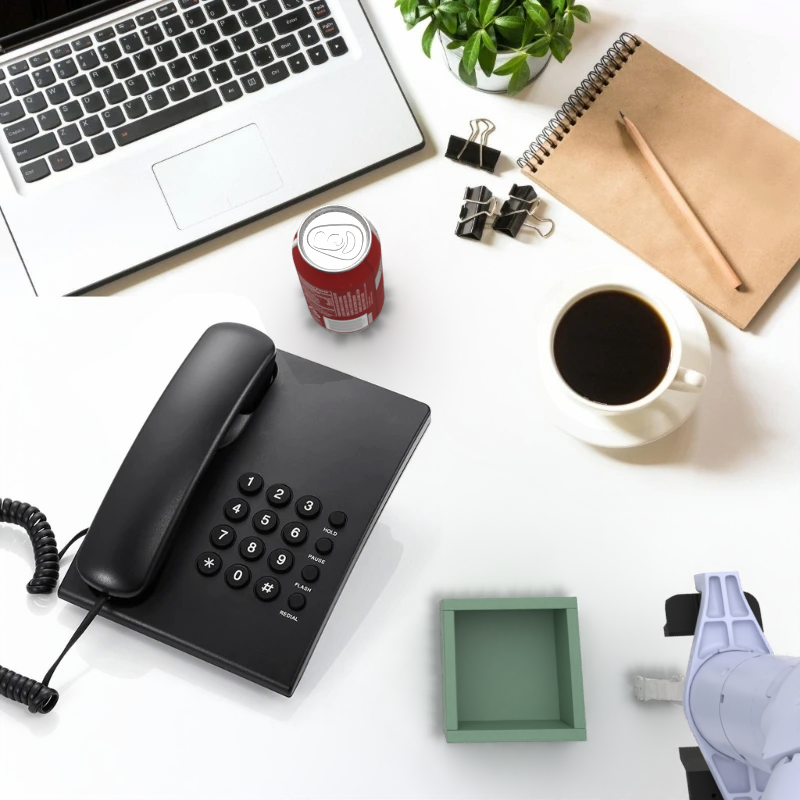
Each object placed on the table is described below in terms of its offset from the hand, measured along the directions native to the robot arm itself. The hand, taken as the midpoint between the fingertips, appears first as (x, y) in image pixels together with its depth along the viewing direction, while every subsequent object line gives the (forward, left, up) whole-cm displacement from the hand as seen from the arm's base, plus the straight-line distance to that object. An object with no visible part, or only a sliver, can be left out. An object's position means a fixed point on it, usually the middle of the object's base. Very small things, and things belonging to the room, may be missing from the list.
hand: (686, 690), depth 54 cm
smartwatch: (0, -1, -9) cm, 9 cm away
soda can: (+9, +38, -9) cm, 41 cm away
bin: (-6, +10, -8) cm, 14 cm away
